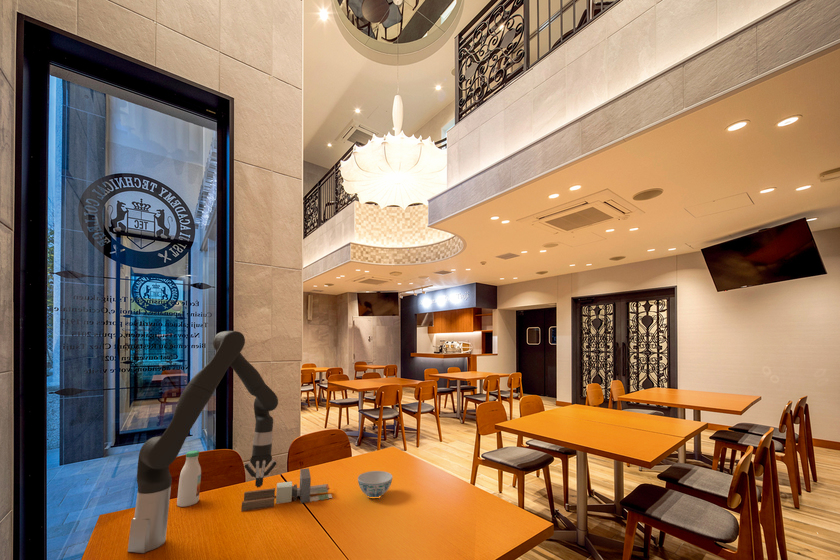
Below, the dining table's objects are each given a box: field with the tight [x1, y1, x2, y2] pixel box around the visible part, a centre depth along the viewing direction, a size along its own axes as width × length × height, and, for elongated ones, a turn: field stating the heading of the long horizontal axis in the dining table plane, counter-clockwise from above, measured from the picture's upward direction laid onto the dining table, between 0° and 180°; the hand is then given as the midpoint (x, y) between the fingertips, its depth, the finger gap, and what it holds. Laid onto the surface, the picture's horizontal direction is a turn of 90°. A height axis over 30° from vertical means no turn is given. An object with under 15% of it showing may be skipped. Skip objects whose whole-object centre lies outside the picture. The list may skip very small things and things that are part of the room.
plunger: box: [293, 483, 330, 501], centre depth 158 cm, size 14×8×4 cm, turn 110°
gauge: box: [240, 467, 333, 512], centre depth 156 cm, size 35×13×9 cm, turn 110°
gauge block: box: [275, 480, 294, 505], centre depth 155 cm, size 7×6×6 cm
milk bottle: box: [176, 449, 202, 508], centre depth 153 cm, size 8×8×20 cm
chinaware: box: [357, 470, 393, 497], centre depth 159 cm, size 15×15×8 cm
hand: (258, 486), depth 152 cm, fingers closed
